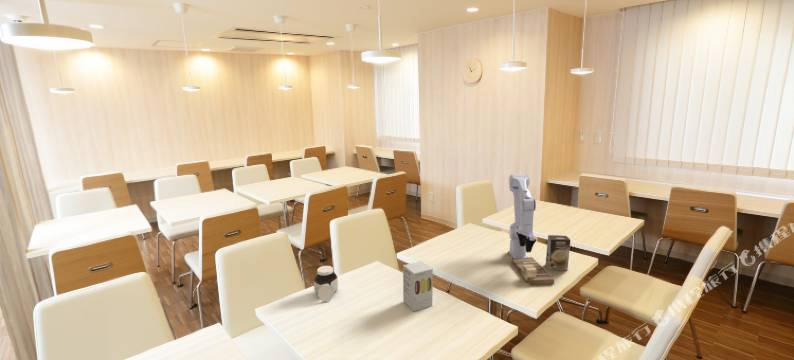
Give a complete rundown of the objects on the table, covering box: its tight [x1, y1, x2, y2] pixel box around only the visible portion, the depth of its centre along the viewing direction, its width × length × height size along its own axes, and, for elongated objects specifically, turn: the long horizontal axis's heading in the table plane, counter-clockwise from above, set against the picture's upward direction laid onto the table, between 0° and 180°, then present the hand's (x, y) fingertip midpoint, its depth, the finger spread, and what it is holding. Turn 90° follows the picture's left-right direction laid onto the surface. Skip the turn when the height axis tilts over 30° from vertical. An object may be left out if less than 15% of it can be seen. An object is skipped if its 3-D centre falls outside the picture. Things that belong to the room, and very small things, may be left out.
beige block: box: [521, 265, 541, 282], centre depth 177 cm, size 5×8×6 cm, turn 94°
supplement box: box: [402, 260, 434, 312], centre depth 158 cm, size 10×9×17 cm
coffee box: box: [545, 234, 572, 271], centre depth 188 cm, size 9×6×16 cm
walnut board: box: [510, 256, 555, 286], centre depth 184 cm, size 24×11×3 cm, turn 4°
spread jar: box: [313, 265, 339, 302], centre depth 166 cm, size 12×11×12 cm
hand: (525, 249), depth 187 cm, fingers open, 7 cm apart
